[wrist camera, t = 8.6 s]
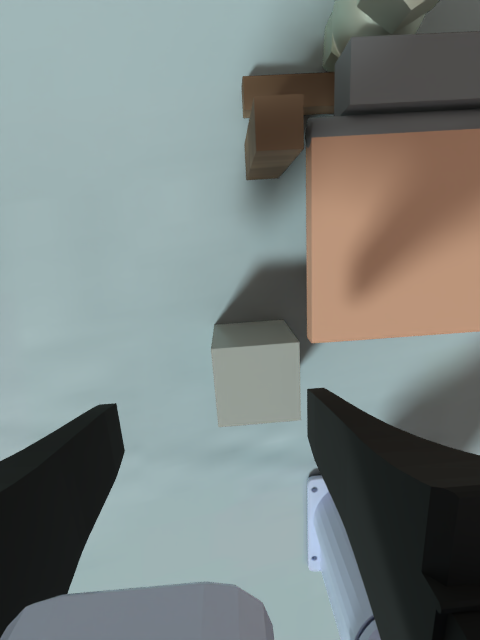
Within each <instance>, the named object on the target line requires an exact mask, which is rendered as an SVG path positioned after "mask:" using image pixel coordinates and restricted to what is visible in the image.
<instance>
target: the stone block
mask: <svg viewBox="0 0 480 640" xmlns="http://www.w3.org/2000/svg"><path fill="white" fill-rule="evenodd" d="M211 354H212V364H213V374H214V385H215V395H216V406H217V416H218V426H219V427H228V426H240V425H251V424H263V423H275V422H287V421H298V420H301V399H300V348H299V341H298V340H297V338H296V337H295V335H294V334H293V333H292V331H291V330H290V328H289V327H288V326H287V324H286V323H285V321H284V320H270V321H257V322H244V323H231V324H218V325H214V331H213V338H212V346H211Z"/></svg>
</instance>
